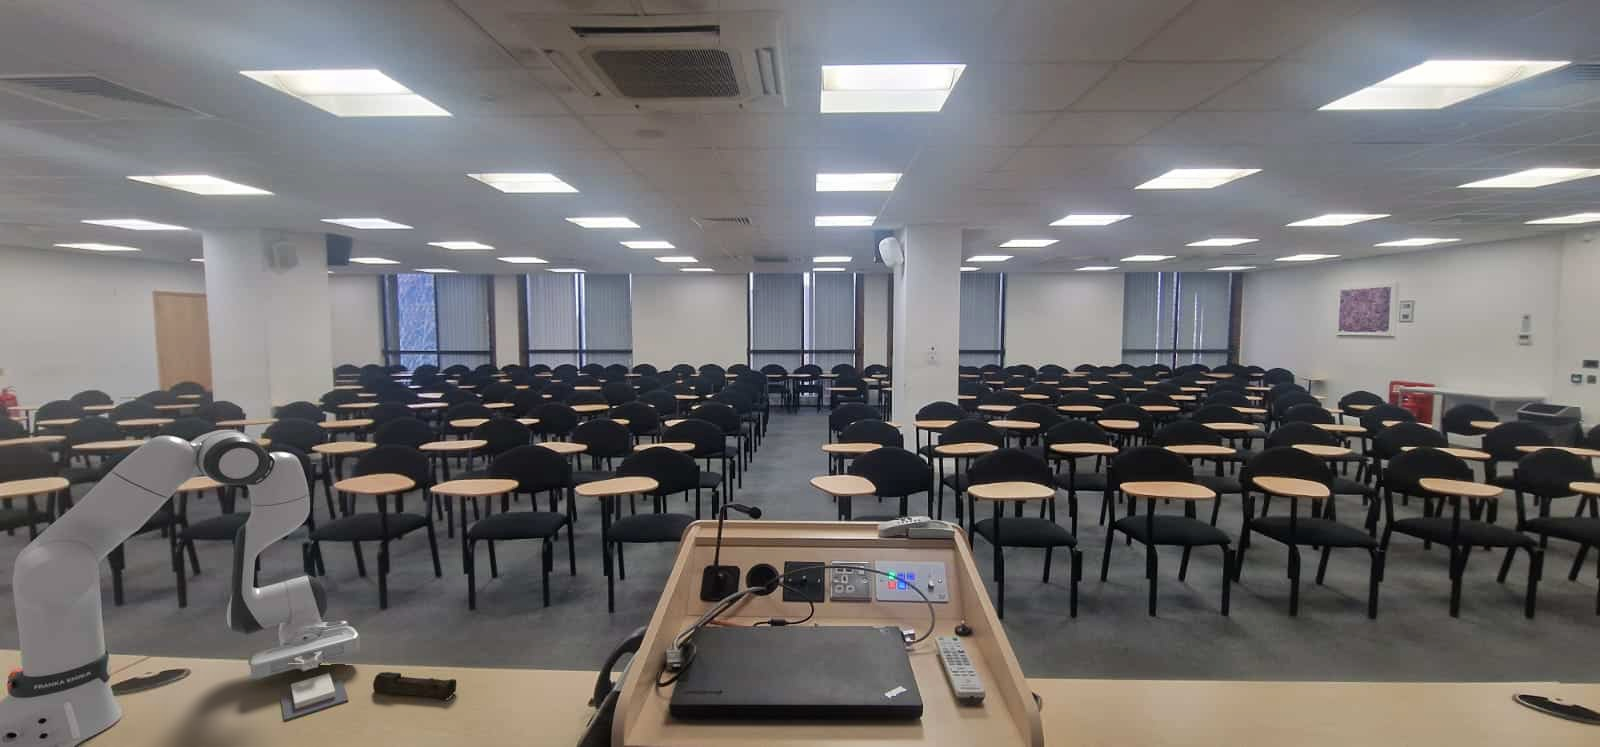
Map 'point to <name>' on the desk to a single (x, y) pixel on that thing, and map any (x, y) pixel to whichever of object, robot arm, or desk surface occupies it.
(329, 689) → the tile
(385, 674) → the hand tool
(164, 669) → the desk surface
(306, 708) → the mat
